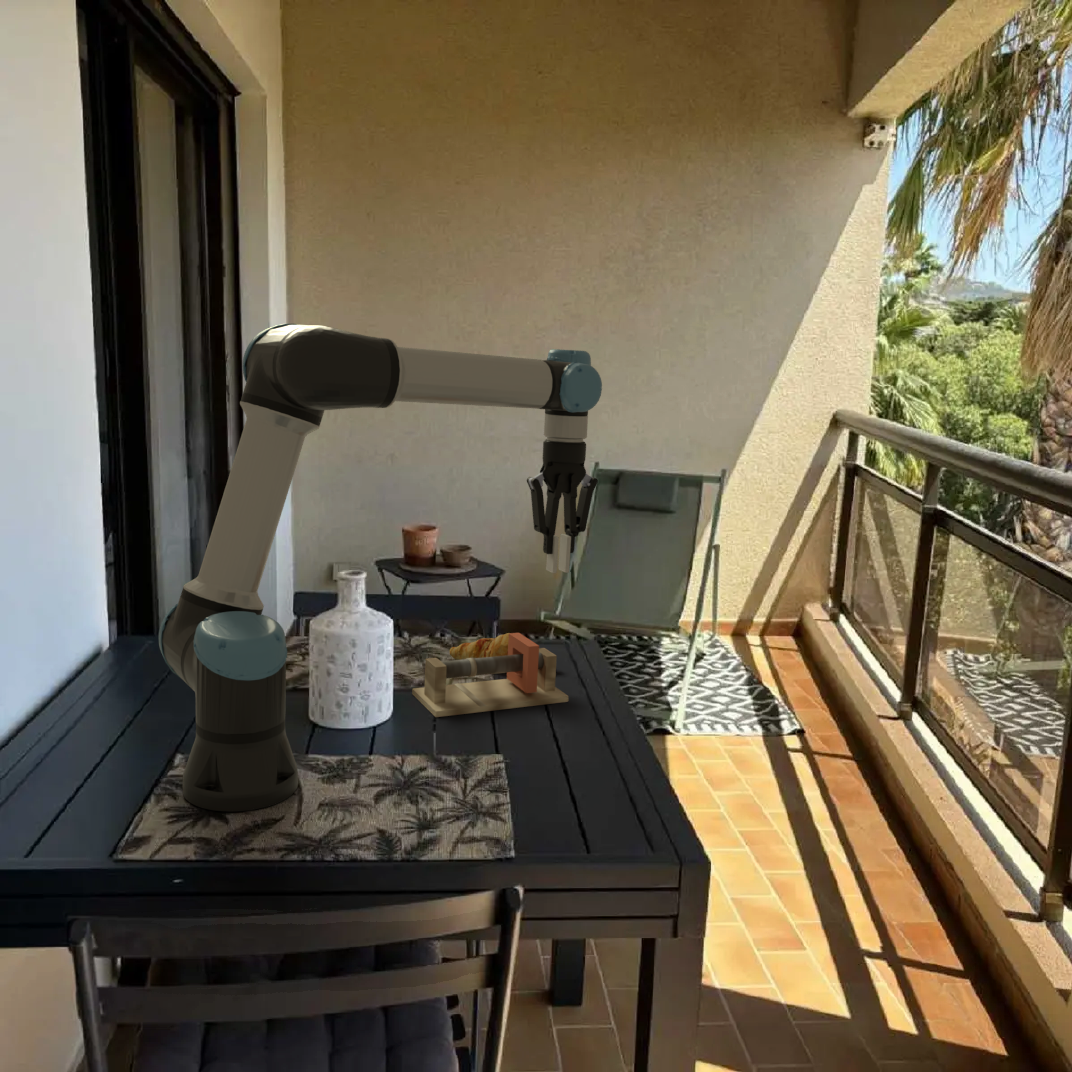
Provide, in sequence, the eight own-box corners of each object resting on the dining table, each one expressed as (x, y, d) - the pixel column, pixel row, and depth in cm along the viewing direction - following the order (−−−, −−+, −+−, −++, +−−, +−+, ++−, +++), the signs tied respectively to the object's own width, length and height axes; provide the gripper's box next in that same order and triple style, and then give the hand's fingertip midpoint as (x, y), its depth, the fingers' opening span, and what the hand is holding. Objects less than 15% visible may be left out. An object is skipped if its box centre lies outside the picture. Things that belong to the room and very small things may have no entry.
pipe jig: (538, 680, 189) (540, 641, 188) (568, 701, 179) (570, 660, 178) (412, 693, 179) (413, 652, 177) (435, 717, 168) (437, 673, 167)
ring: (516, 677, 185) (518, 632, 184) (536, 692, 178) (539, 645, 176) (506, 678, 184) (508, 633, 183) (526, 693, 177) (528, 646, 175)
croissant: (445, 681, 197) (441, 652, 192) (455, 645, 205) (452, 616, 200) (552, 690, 194) (551, 660, 189) (559, 653, 202) (558, 624, 197)
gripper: (591, 437, 182) (583, 564, 186) (517, 436, 176) (511, 568, 180) (612, 442, 176) (603, 573, 180) (536, 441, 169) (529, 578, 173)
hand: (557, 571), depth 180 cm, fingers open, 2 cm apart
